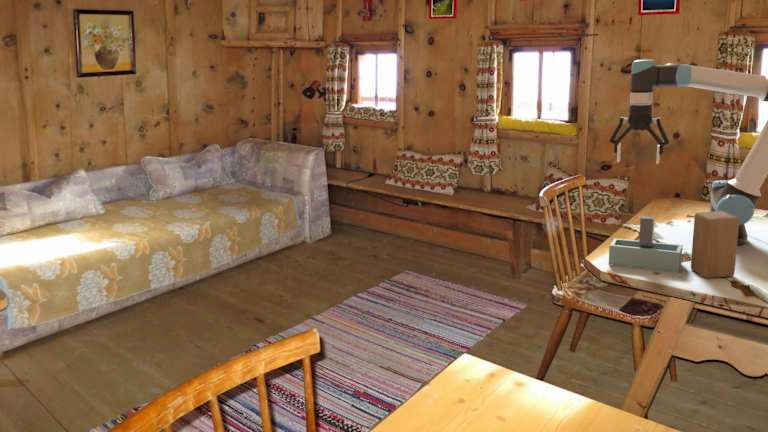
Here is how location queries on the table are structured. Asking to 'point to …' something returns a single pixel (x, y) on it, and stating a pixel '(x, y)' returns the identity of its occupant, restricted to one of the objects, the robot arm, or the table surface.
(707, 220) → the wooden block
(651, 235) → the brushed steel bar
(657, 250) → the grey-green open box
